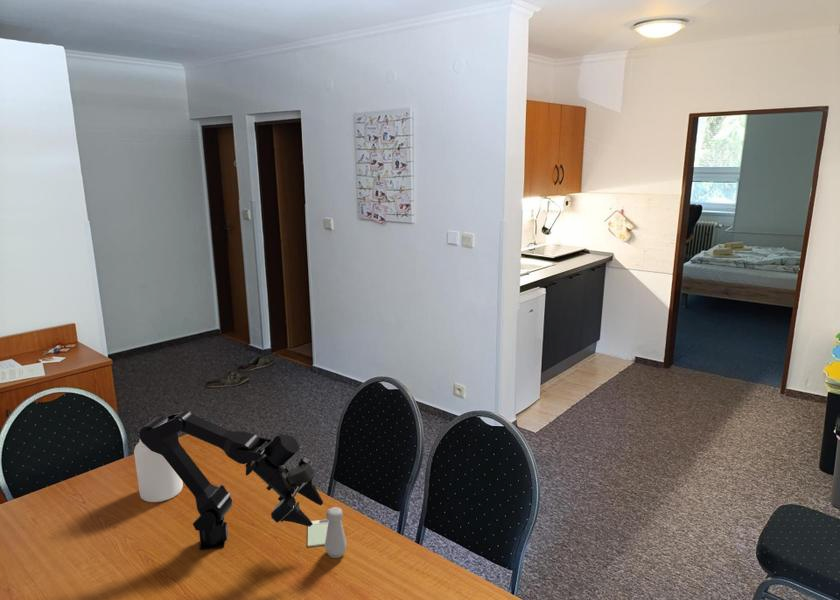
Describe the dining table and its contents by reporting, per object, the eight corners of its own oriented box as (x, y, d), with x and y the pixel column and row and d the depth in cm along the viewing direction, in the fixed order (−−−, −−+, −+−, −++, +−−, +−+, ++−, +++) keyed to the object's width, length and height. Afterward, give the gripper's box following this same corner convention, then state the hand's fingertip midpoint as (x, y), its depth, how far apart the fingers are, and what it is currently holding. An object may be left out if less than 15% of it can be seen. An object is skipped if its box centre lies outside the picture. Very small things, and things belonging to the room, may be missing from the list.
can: (191, 488, 183) (185, 431, 178) (155, 508, 173) (147, 448, 168) (167, 477, 189) (160, 421, 184) (131, 495, 179) (123, 437, 174)
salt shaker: (342, 562, 150) (341, 518, 146) (322, 559, 151) (319, 515, 147) (349, 547, 155) (348, 505, 152) (329, 544, 156) (327, 502, 153)
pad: (307, 546, 155) (307, 544, 155) (307, 522, 165) (307, 521, 165) (341, 542, 157) (341, 541, 157) (339, 519, 167) (339, 517, 167)
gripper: (280, 475, 138) (326, 518, 140) (305, 438, 156) (346, 477, 158) (251, 501, 141) (297, 544, 143) (279, 462, 159) (320, 500, 160)
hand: (316, 514), depth 151 cm, fingers open, 9 cm apart
